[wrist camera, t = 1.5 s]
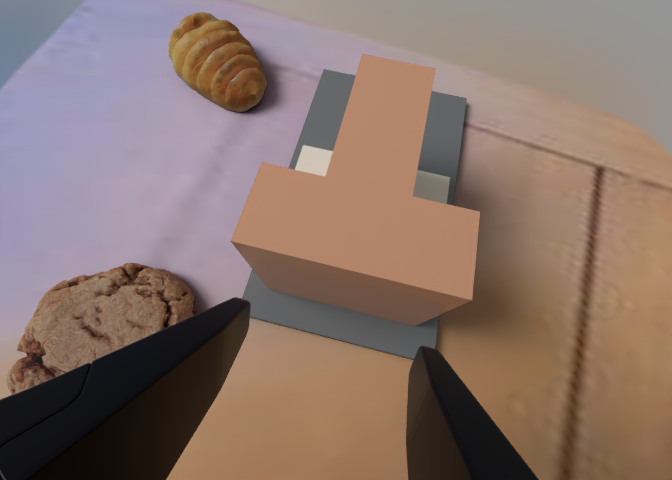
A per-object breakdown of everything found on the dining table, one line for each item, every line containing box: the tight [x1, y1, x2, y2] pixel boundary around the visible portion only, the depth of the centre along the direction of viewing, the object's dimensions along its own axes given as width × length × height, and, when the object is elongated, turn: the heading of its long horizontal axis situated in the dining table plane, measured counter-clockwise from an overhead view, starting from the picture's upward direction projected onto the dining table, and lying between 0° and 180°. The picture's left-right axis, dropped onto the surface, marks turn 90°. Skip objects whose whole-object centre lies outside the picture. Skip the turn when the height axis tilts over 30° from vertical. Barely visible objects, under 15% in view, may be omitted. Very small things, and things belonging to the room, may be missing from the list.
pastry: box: [169, 12, 267, 112], centre depth 28 cm, size 9×7×4 cm
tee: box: [231, 54, 480, 326], centre depth 19 cm, size 12×10×9 cm
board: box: [242, 69, 467, 360], centre depth 25 cm, size 22×13×1 cm, turn 166°
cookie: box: [7, 263, 196, 395], centre depth 20 cm, size 10×11×3 cm
